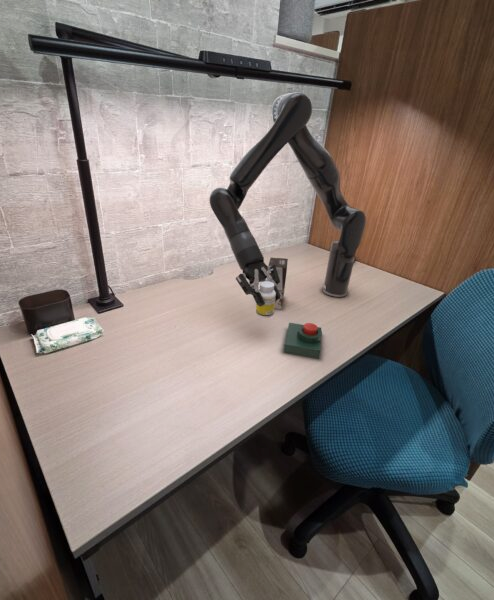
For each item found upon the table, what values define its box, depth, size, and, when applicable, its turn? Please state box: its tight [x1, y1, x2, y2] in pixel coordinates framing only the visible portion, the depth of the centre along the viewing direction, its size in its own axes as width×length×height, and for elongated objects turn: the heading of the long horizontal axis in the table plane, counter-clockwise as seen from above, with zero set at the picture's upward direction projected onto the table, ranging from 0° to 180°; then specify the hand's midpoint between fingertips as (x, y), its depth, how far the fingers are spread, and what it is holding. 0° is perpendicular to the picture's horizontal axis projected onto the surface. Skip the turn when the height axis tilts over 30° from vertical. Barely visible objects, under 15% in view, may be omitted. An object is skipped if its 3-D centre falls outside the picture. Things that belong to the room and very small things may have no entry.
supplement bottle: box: [255, 281, 276, 319], centre depth 91 cm, size 5×5×10 cm
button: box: [303, 322, 319, 335], centre depth 92 cm, size 4×4×2 cm
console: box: [283, 322, 323, 360], centre depth 94 cm, size 12×10×5 cm
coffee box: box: [267, 257, 289, 310], centre depth 113 cm, size 9×6×16 cm
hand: (270, 302), depth 90 cm, fingers closed on supplement bottle, 5 cm apart
